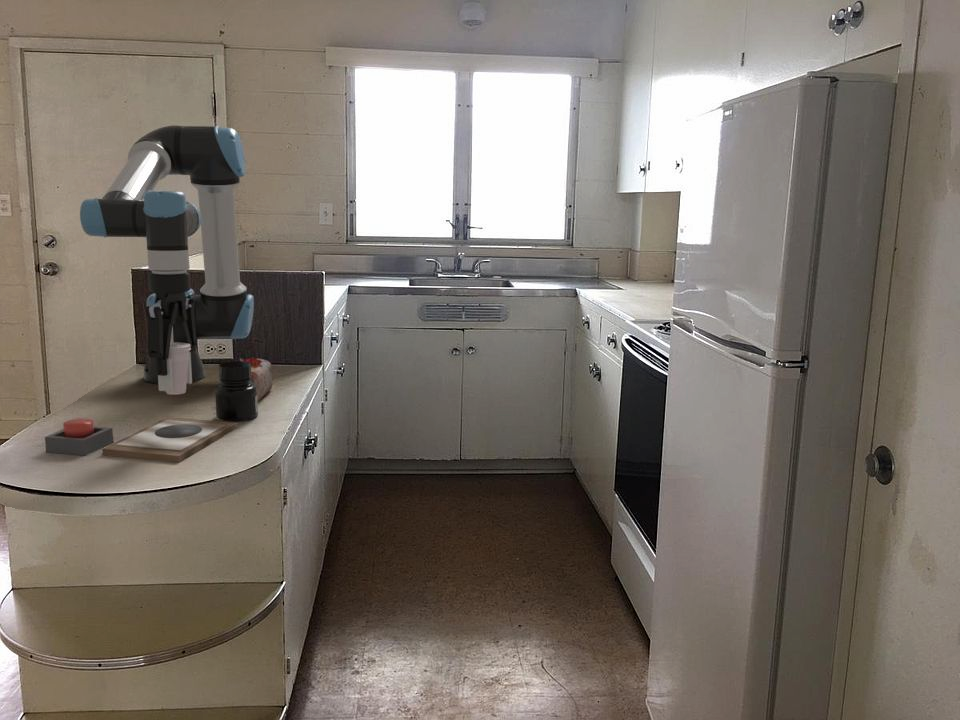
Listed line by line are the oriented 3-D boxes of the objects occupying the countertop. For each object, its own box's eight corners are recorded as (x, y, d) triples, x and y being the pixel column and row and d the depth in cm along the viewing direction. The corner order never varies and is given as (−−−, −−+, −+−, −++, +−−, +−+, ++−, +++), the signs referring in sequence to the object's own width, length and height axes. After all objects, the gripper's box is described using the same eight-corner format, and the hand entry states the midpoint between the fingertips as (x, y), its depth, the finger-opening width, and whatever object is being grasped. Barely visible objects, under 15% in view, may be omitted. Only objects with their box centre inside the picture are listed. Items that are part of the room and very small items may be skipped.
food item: (259, 405, 188) (258, 364, 185) (226, 404, 188) (224, 363, 185) (275, 390, 201) (273, 352, 199) (243, 390, 201) (242, 351, 199)
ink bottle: (267, 416, 179) (265, 364, 176) (236, 425, 171) (233, 371, 169) (238, 408, 184) (236, 358, 181) (206, 417, 177) (204, 364, 174)
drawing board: (168, 422, 172) (167, 415, 172) (236, 428, 169) (236, 421, 169) (102, 454, 151) (102, 447, 151) (179, 462, 148) (179, 454, 148)
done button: (76, 429, 157) (75, 417, 157) (100, 431, 157) (99, 419, 156) (58, 437, 152) (57, 425, 152) (82, 439, 152) (81, 427, 151)
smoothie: (182, 387, 164) (178, 320, 162) (199, 392, 160) (196, 323, 158) (152, 392, 159) (148, 323, 157) (169, 397, 155) (165, 327, 153)
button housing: (75, 438, 160) (74, 424, 159) (113, 442, 158) (112, 427, 158) (46, 451, 152) (44, 436, 151) (85, 455, 150) (84, 440, 150)
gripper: (178, 266, 165) (184, 375, 169) (121, 275, 146) (129, 397, 151) (212, 268, 163) (217, 377, 168) (158, 277, 145) (165, 399, 150)
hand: (175, 386), depth 160 cm, fingers closed on smoothie, 6 cm apart
